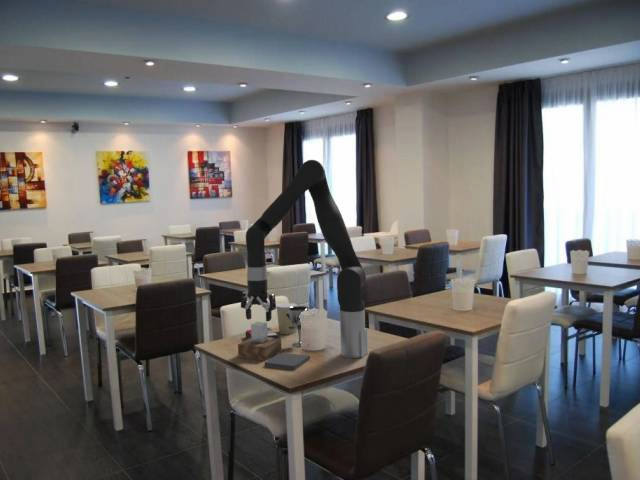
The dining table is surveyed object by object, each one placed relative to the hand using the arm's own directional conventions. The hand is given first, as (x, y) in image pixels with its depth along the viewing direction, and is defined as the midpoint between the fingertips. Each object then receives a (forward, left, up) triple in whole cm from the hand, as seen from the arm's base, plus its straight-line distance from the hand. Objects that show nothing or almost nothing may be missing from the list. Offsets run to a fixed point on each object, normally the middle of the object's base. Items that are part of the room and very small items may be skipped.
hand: (258, 320), depth 204 cm
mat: (-15, +6, -13) cm, 21 cm away
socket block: (0, 0, -13) cm, 13 cm away
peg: (0, 0, -13) cm, 13 cm away
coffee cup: (+5, -32, -14) cm, 35 cm away
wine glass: (-9, -16, -14) cm, 23 cm away
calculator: (+9, -17, -14) cm, 24 cm away
